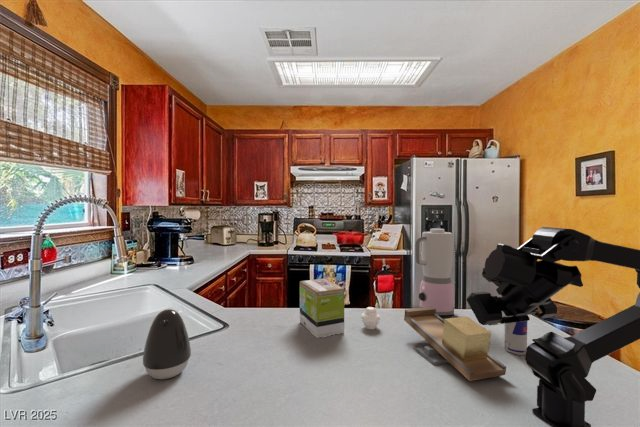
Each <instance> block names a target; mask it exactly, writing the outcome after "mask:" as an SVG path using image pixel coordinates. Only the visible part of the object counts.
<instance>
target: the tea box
mask: <svg viewBox="0 0 640 427" xmlns="http://www.w3.org/2000/svg"><path fill="white" fill-rule="evenodd" d="M299 323H301V324H302V325H303V326H304V327H305V328H306V329H307V330H308V331H309V332H310V333H311V334H312V335H313V336H314V338H316V339H320V338H319V337H322V338H325V337H324V336H328V337H331V336H330V335H333V336H336V335H335V334H338V335H342V334H344V333H345V287H342V286H340V285H338V284H336V283H335V282H332V281H330V280H329V279H326V278H317V279H309V280H308V279H307V280H300V281H299ZM341 333H342V334H341Z"/></svg>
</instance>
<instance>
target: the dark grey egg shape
mask: <svg viewBox="0 0 640 427" xmlns="http://www.w3.org/2000/svg"><path fill="white" fill-rule="evenodd" d="M143 350H144V351H143V354H142V355H143V356H142V365H143V366H144V369H145V371H146V373H147V375H149V376H150V377H151V378H152V379H156V380H157V379H158V380H168V379H171V378H174V377H176V376H178V375H179V374H180V373H183V371H184V370H185V369H186V367H187V365H188V364H189V361H190V357H191V356H192V349H191V343H190V337H189V333H188V330H187V327H186V324H185V322H184V320H183V318H182V316H181V315H180V313H179V312H178V311H176V310H174V309H173V308H171V309H170V308H168V309H163V310H162V311H160V312H158V313H157V315H156V316H155V318H154V319H153V320H152V323H151V325H150V327H149V330H148V333H147V338H146V340H145V344H144V349H143Z"/></svg>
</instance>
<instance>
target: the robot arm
mask: <svg viewBox="0 0 640 427" xmlns="http://www.w3.org/2000/svg"><path fill="white" fill-rule="evenodd" d="M558 261H565V262H566V261H567V262H589V261H590V262H600V263H604V264H609V265H614V266H618V267H624V268H628V269H633V270H635V272H636V285H637V287H638V288H639V289H640V249H637V248H633V247H627V246H624V245H618V244H613V243H607V242H602V241H600V240H597V239H595V238H593V237H592V236H591V235H589V234H586V233H584V232H581V231H578V230H576V229H573V228H563V227H552V226H551V227H550V226H549V227H548V226H543V227H539V229H537V230H536V231H535V232H534V233H533V235H532V237H531V238H529V239H528V240H527V241H525V242H524V243H523V244H521V245H520V246H519V247H517V248H514V247H512V246H511V245H507V244H503V243H497V245H496V248H495V249H494V250H492V251H491V252H490V253H489V255H488V256H487V257H486V259H485V260H484V267H483V268H482V273H481V275H482V277H483V278H484V279H485V280H486V281H488V283H493V284H494V285H495V286H496V287H497V288H496V289H495V290H496V292H497V294H498V295H500V296H499V297H498V296H497V295H492V294H491V293H490V292H488V291H475V292H471V293H470V294H469V295H468V296H466V299H465V300H466V302H467V303H468V305H469V307H470V309H471V311H472V313H473V314H474V316H475V318H476V320H477V321H478V322H477V323H478V324H479V325H481V326H497V325H505V323H514V322H522V321H527V322H528V321H530V315H535V314H536V313H537V312H538V310H540V311H541V313H540V314H539V317H540V318H541V319H549V318H552V317H554V316H555V315H557V314H558V306H557V305H556V304H555V303H554V301H553V299H551V297H553V296H554V295H556V294H558V293H559V292H560V291H562V290H563V289H564V288H566V287H567V286H569V285H571V286H575V287H579V288H582V287H584V283H583V281H582V276H583V275H582V273H581V272H580V269H579V267H578V266H577V265H565V264H563V263H560V262H558ZM635 300H636V301H635V303H634V304H633V305H631V306H629V307H626V308H625V309H624V310H621V311H619V312H617V313H615V314H612V315H611V316H609V317H607V318H605V319H603V320H600V321H598V322H597V323H595V324H593V325H590V326H589V327H587V328H585V329H583V330H581V331H579V332H577V333H574V334H572V335H570V336H567V337H563V336H561V335H560V334H557V333H555V332H553V331H549V332H546V333H545V334H543V335H542V336H541V337H538V338H533V339H531V340H532V343H530V344H529V345H527V348H526V350H527V351H526V354H524V356H525V357H524V358H525V363H526V365H527V366H528V367H529V368H530V369H531V372H532V374H533V376H534V377H536V378H538V385H537V386H536V407H535V408H532V413H533V414H534V415H536V416H537V417H539V418H540V419H542V420H543V421H545V422H547V423H548V424H549V425H551V426H552V427H592V424H591V423H590V422H588V421H586V419H585V417H586V416H585V415H586V411H585V410H586V409H585V408H586V402H592V401H593V400H594V399H595V396H596V393H597V389H596V387H595V386H594V385H592V384H591V383H590V382H589V381H588V380H587V379H586V378H587V377H588V376H589V374H590V370H591V368H592V365H593V363H595V362H596V361H598V360H600V359H602V358H604V357H607V356H609V355H610V354H611V355H612V354H613V353H615V352H616V351H618V350H621V349H623V348H625V347H626V346H628V345H630V344H632V343H634V342H637V341H638V340H640V292H639V293H638V294H637V297H636V299H635Z"/></svg>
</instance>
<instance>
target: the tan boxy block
mask: <svg viewBox="0 0 640 427" xmlns="http://www.w3.org/2000/svg"><path fill="white" fill-rule="evenodd" d="M443 320H444V327H443V336H442V345H443V346H445V347H446V348H447V349H448V350H449V351H450V352H451V353H453V354H454V355H455V356H456V357H457V358H458V359H459V360H461V361H462V362H463V363H465V362H471V361H478V360H484V359H487V357H488V353H489V349H490V341H491V334H492V332H491V331H489V330H488V329H487V328H485V327H483V325H482V324H480V323H479V322H476V321H475V320H473V319H472V318H470V317H469V316H460V317H457V316H456V317H450V318H443Z"/></svg>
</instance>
